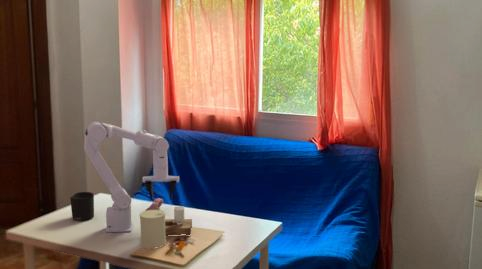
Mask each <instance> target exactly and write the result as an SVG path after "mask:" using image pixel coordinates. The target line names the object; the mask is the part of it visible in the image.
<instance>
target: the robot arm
mask: <svg viewBox="0 0 482 269" xmlns="http://www.w3.org/2000/svg"><path fill="white" fill-rule="evenodd" d="M115 136H116V137H119V138H122V139H125V140H126V139H127V140H130V141H133V143H134V144H135V145H136V146H140V147H143V148H146V149H152V153H153V154H152V161H153V162H152V163H153V171H152V172H153V175H149V176H146V175H145V176H143V177H142V183H144V186H145V188H146V189H147V191H148V194H149V198H150V200H151V201H154V183H158V182H159V183H168V182H169V200H172V199H173V193H174V189H175V187H176V185H177V183H179V182H180V175H178V176H177V175H169V163H168V162H169V160H168V150H169V148H170V144H169V142H168V140H167V139H166V138H164V137H162V136H160V135H159V134H156V133H155V134H152V133H149V132H148V131H147V130H145V129H143V130H138V131H136V132H135V131H131V130H128V129H127V128H122V127H119V126H117V125H113V124H110V123H105V122H99V121H94V120H93V121H91V122H90V123H88V124H87V127H86V129H85V130H84V143H83V144H84V146H83V148H84V149H83V151H84V152H85V154H86V156H87V157H88V159H89V160H90V162H91V163H92V165H93V166H94V168H95V170H96V172H97V173H98V174H99V176H100V178H101V179H102V181H103V183H104V184H105V186H106V188H107V189H108V190H109V192H110V195H111V196H110V197H111V201H113V204H112V206H109V207H107V208H106V212H105V213H106V215H105V218H106V220H105V221H106V232H107V233H115V232H116V233H123V232H124V233H127V232H128V233H129V232H130V233H131V232H132V230H133V228H134V226H135V223H132V198H131V196H130V195H129V194H128V192H127V190H126V189H125V188H124V187H122V186H121V184H120V183H119V181H118V180H117V178H116V177H115V175H114V172H112V170H111V168H110V167H109V165H108V164H107V162H106V161H105V159H104V157H103V155H102V154H101V153H100V151H99V149H100V147H101V144H102V143H103V141H104V140H105V139H106V138H108V139H109V138H112V137H115Z"/></svg>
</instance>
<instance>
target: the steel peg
mask: <svg viewBox="0 0 482 269" xmlns="http://www.w3.org/2000/svg"><path fill="white" fill-rule="evenodd" d="M173 208H174V209H173V219H174V222H177V225H182V222H184V219H185V206H174V207H173Z"/></svg>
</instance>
